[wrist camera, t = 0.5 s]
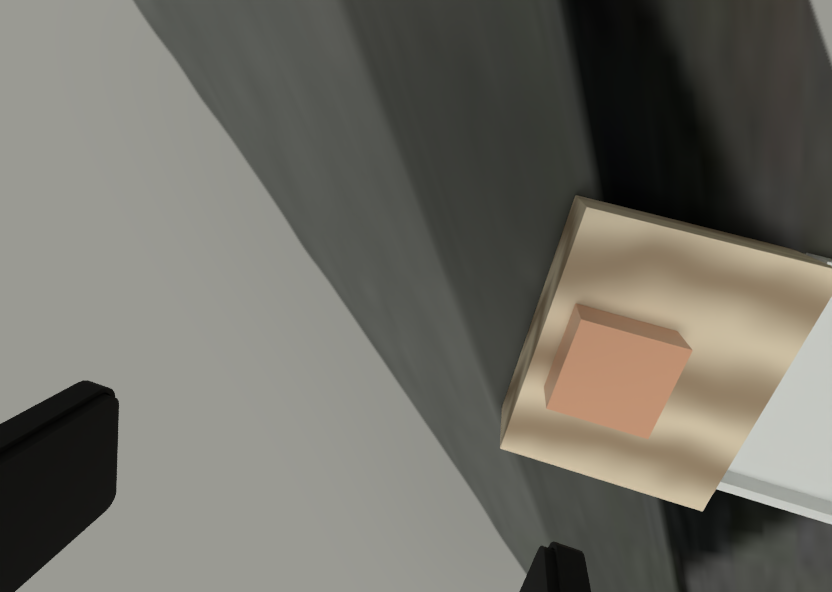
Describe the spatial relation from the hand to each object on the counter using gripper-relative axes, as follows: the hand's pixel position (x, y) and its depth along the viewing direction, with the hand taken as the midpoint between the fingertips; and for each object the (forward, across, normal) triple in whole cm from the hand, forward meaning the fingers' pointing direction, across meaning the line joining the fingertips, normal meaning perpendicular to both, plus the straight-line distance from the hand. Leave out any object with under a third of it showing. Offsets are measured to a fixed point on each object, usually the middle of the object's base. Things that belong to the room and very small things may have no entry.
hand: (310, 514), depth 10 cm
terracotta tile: (+25, -13, +4) cm, 29 cm away
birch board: (+31, -16, +4) cm, 35 cm away
